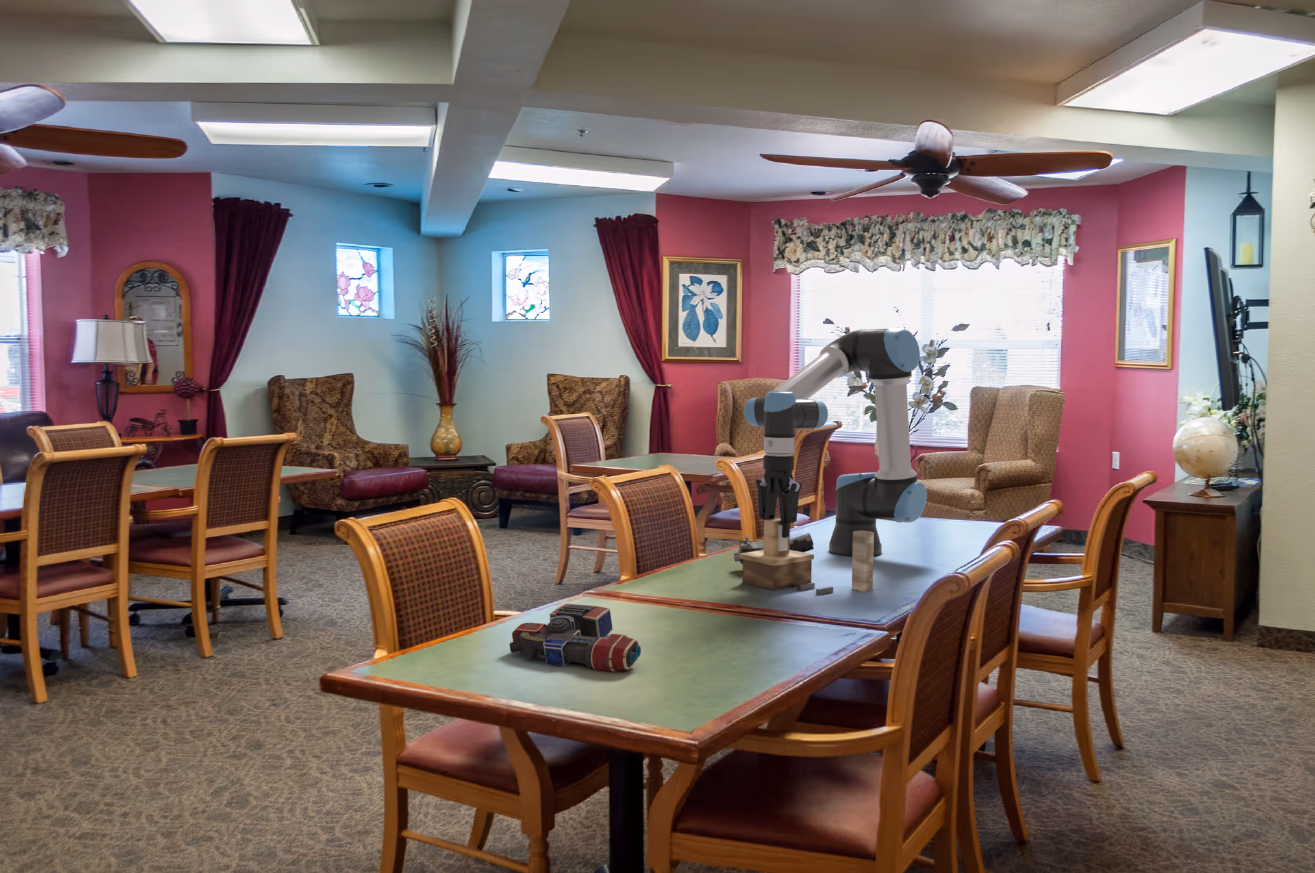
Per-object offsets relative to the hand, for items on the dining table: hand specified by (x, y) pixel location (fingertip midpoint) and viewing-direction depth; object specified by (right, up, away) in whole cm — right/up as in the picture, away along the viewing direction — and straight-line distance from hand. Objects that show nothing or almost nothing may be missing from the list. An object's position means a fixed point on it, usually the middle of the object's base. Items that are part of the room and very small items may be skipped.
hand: (777, 549), depth 244 cm
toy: (+1, -8, +16) cm, 17 cm away
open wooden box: (0, -8, 0) cm, 8 cm away
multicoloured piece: (-43, -12, -63) cm, 77 cm away
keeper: (+7, -9, -7) cm, 13 cm away
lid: (0, -2, 0) cm, 2 cm away
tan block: (+20, -9, -6) cm, 23 cm away
